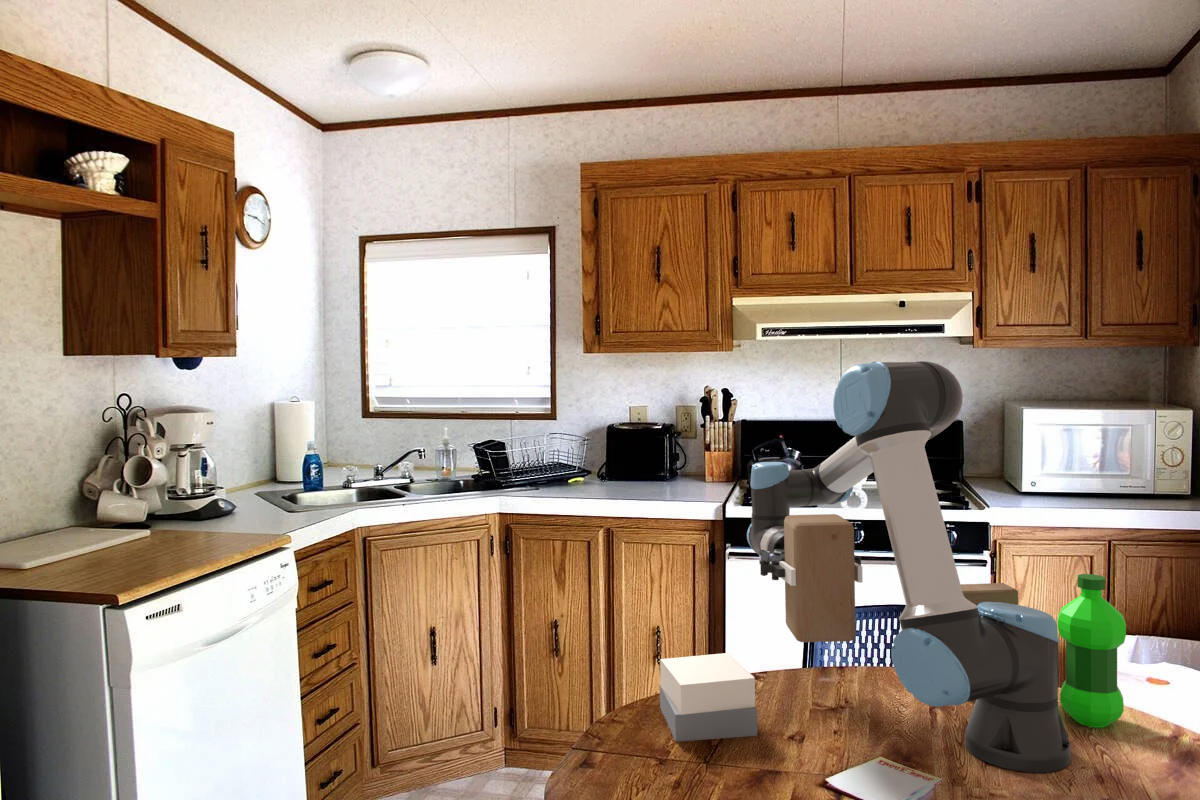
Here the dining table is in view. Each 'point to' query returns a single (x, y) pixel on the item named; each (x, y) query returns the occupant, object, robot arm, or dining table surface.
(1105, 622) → the plastic bottle
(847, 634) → the wooden block
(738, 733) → the tower base
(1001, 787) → the dining table surface
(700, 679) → the tower top
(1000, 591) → the decorative block
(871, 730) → the dining table surface
